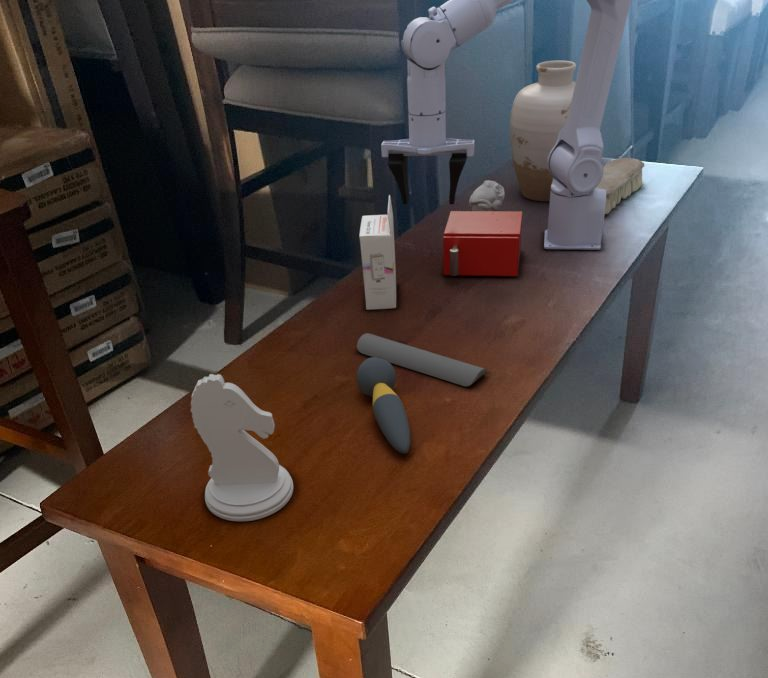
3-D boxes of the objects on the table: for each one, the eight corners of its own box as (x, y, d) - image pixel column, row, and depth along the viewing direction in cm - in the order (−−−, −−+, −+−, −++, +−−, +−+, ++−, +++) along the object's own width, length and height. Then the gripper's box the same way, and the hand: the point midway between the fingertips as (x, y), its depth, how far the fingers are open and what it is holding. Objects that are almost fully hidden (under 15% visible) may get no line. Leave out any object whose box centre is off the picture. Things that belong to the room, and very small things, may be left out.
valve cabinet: (520, 252, 133) (522, 211, 128) (517, 276, 125) (519, 233, 121) (450, 251, 135) (450, 211, 130) (444, 275, 127) (443, 233, 123)
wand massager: (435, 453, 90) (435, 417, 86) (395, 463, 89) (392, 427, 86) (384, 373, 104) (382, 340, 101) (349, 381, 103) (346, 347, 100)
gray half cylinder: (472, 389, 100) (472, 377, 99) (354, 352, 109) (353, 340, 108) (489, 375, 102) (489, 363, 101) (373, 339, 112) (372, 328, 111)
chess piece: (289, 519, 82) (267, 399, 72) (198, 524, 83) (164, 405, 73) (297, 464, 90) (277, 348, 80) (213, 468, 90) (184, 354, 80)
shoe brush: (604, 222, 141) (607, 194, 138) (565, 216, 144) (568, 189, 141) (648, 183, 156) (652, 156, 152) (612, 178, 159) (615, 152, 156)
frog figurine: (510, 220, 145) (512, 181, 140) (481, 229, 142) (482, 190, 137) (489, 211, 149) (490, 174, 144) (461, 220, 146) (461, 182, 141)
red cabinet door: (516, 274, 125) (518, 236, 121) (515, 283, 122) (517, 245, 118) (443, 273, 127) (443, 235, 123) (441, 282, 124) (440, 244, 120)
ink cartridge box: (366, 287, 126) (359, 194, 116) (397, 285, 125) (392, 192, 116) (364, 310, 119) (356, 214, 110) (396, 309, 119) (391, 213, 109)
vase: (490, 197, 155) (494, 68, 140) (536, 176, 163) (544, 52, 148) (558, 212, 146) (569, 77, 131) (602, 189, 154) (618, 59, 140)
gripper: (375, 119, 116) (381, 210, 125) (471, 117, 113) (470, 211, 122) (383, 107, 121) (388, 195, 130) (476, 105, 118) (474, 195, 127)
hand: (428, 202), depth 126 cm, fingers open, 7 cm apart
